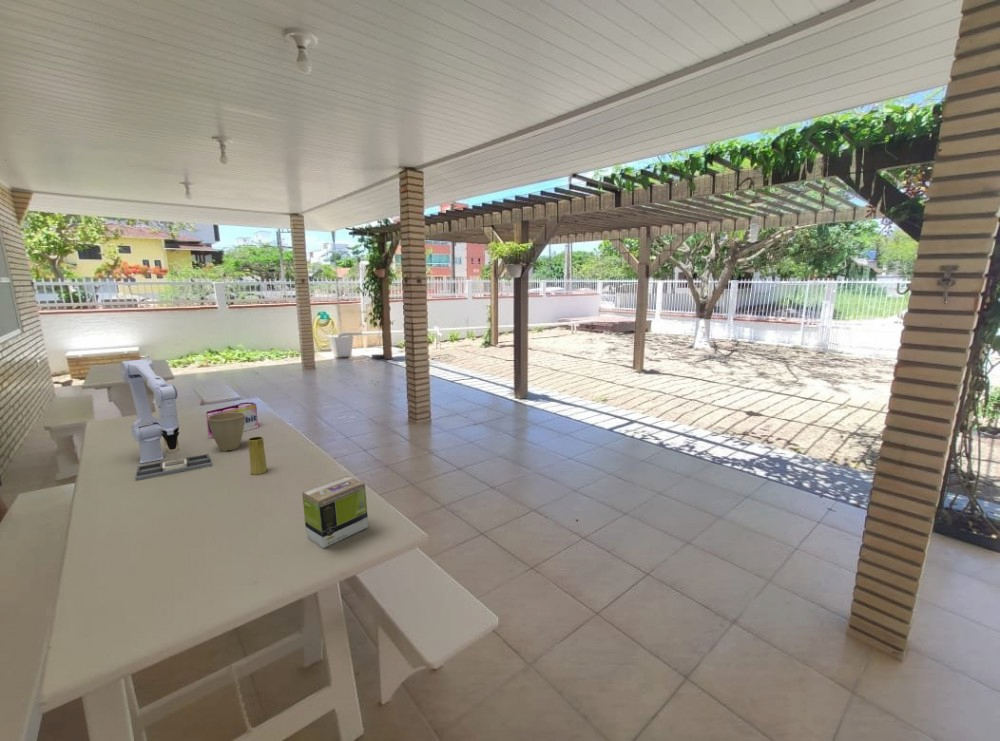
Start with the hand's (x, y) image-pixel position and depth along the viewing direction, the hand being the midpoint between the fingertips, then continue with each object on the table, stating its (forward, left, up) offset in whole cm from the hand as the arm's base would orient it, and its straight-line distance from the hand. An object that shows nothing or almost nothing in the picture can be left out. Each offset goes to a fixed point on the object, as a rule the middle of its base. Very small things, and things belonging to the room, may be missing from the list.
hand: (172, 447), depth 179 cm
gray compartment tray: (0, 0, -9) cm, 9 cm away
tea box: (+92, +38, -10) cm, 100 cm away
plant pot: (-15, +21, -10) cm, 28 cm away
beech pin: (0, 0, -2) cm, 2 cm away
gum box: (-44, +26, -10) cm, 52 cm away
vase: (+25, +27, -10) cm, 38 cm away
